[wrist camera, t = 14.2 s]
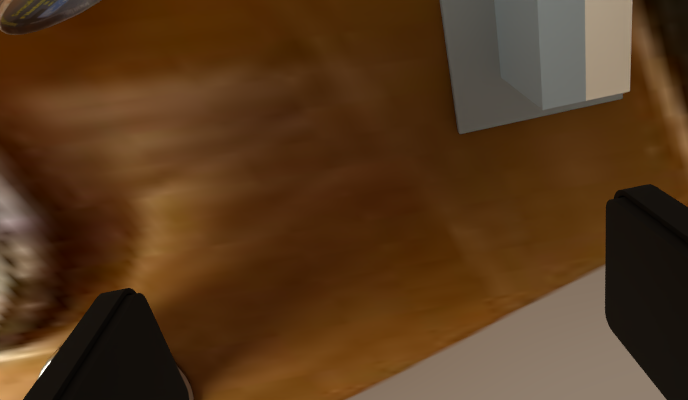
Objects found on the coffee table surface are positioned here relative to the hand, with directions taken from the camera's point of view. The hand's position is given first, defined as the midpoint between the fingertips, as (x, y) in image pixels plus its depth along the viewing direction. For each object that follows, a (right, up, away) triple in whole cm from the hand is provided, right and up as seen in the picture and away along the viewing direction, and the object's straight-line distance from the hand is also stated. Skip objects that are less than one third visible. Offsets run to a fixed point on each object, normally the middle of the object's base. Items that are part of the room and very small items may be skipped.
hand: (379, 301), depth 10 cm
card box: (+10, +14, +18) cm, 24 cm away
